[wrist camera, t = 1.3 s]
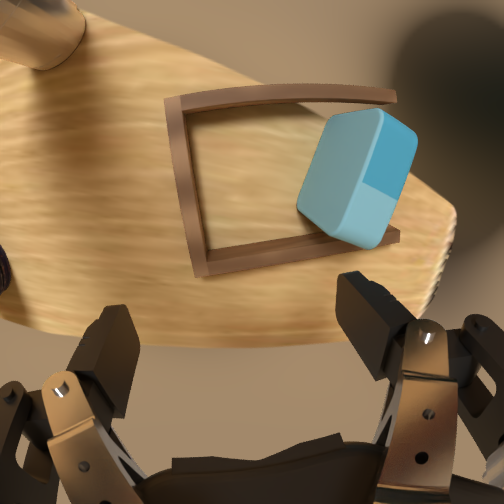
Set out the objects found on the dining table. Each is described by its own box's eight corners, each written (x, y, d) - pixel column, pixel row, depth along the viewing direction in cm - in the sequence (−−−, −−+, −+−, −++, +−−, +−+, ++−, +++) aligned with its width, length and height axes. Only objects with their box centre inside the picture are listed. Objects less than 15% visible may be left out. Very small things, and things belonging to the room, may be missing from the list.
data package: (325, 219, 33) (375, 256, 22) (293, 207, 32) (333, 241, 21) (359, 131, 30) (423, 132, 19) (328, 115, 29) (385, 105, 18)
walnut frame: (169, 103, 26) (163, 98, 23) (380, 93, 28) (395, 90, 25) (196, 264, 33) (195, 277, 30) (385, 233, 35) (399, 242, 32)
